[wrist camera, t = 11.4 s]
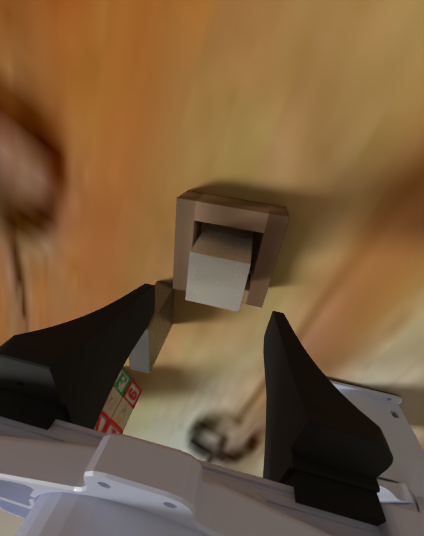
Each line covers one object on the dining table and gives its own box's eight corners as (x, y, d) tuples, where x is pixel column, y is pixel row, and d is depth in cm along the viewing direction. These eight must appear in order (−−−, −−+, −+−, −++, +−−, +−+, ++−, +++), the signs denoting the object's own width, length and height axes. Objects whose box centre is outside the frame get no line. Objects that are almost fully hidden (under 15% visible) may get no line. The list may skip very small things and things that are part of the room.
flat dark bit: (174, 284, 25) (148, 329, 19) (172, 324, 28) (149, 373, 22) (157, 280, 25) (125, 324, 19) (157, 320, 28) (130, 369, 22)
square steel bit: (253, 228, 20) (250, 264, 14) (244, 266, 22) (238, 311, 16) (209, 219, 21) (189, 251, 15) (204, 258, 23) (185, 299, 17)
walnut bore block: (285, 207, 19) (289, 217, 16) (261, 289, 23) (261, 307, 21) (187, 190, 20) (176, 197, 17) (182, 272, 24) (172, 288, 21)
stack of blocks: (55, 400, 44) (-9, 482, 33) (33, 379, 41) (-45, 460, 31) (143, 390, 37) (96, 491, 26) (122, 364, 34) (61, 464, 24)
